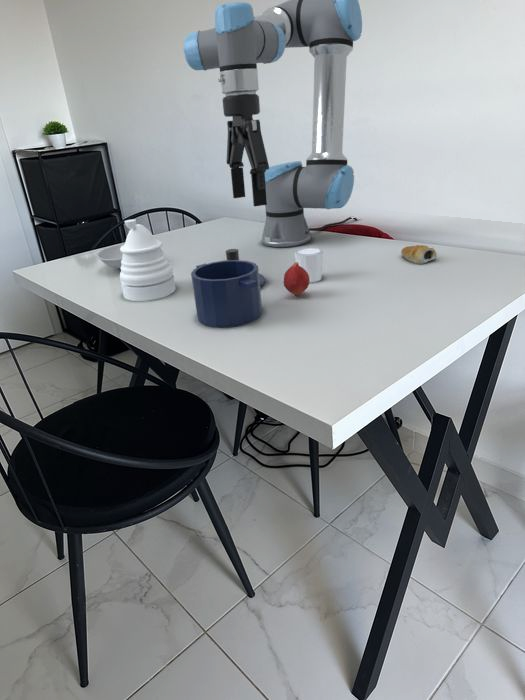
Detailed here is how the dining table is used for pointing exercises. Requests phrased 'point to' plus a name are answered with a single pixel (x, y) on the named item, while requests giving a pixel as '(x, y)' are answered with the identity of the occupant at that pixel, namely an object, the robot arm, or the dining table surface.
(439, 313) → the dining table surface
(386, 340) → the dining table surface
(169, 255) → the dining table surface
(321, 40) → the robot arm
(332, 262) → the dining table surface
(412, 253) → the pastry
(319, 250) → the white tapered cylinder
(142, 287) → the honey pot
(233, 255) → the lid
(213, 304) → the pot
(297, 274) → the onion
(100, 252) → the dish
